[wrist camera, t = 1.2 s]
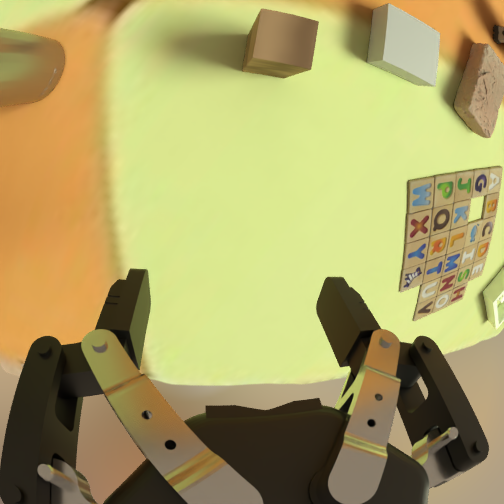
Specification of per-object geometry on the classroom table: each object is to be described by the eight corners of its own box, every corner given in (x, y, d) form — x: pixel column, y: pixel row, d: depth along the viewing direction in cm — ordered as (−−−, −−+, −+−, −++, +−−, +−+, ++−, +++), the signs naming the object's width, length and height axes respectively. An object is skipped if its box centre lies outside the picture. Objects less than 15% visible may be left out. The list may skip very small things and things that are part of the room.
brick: (471, 40, 24) (489, 40, 20) (494, 70, 26) (511, 73, 22) (448, 106, 31) (468, 111, 27) (472, 135, 33) (491, 141, 29)
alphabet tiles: (405, 179, 37) (409, 181, 36) (498, 164, 37) (503, 166, 35) (390, 327, 54) (393, 331, 53) (473, 290, 54) (476, 292, 53)
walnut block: (241, 71, 27) (252, 57, 18) (248, 34, 25) (261, 8, 16) (284, 78, 28) (310, 69, 19) (290, 42, 25) (318, 21, 17)
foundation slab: (366, 62, 27) (382, 60, 24) (373, 9, 23) (388, 3, 19) (417, 85, 29) (435, 86, 25) (422, 35, 24) (440, 33, 21)
